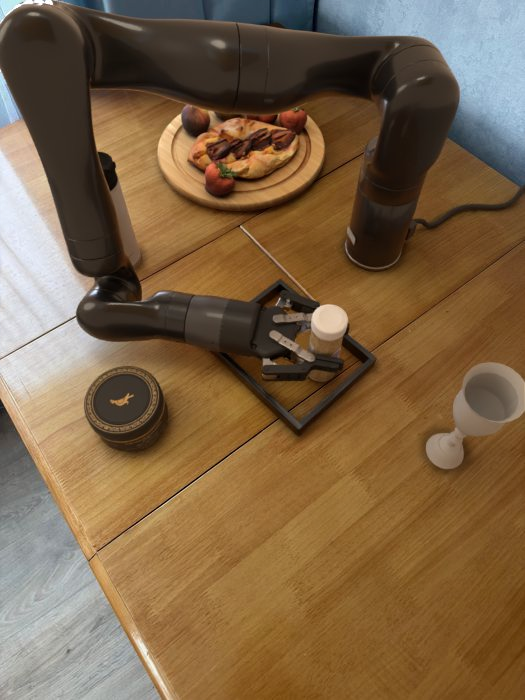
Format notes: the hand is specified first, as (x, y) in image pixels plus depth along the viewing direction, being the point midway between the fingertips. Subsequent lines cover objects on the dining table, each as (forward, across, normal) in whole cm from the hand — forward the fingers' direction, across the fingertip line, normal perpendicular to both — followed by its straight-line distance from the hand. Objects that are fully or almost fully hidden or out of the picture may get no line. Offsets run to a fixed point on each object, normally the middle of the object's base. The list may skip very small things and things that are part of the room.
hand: (345, 346), depth 71 cm
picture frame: (-8, +1, +7) cm, 11 cm away
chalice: (+16, -9, +8) cm, 19 cm away
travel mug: (-38, +14, +8) cm, 41 cm away
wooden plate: (-25, +44, +8) cm, 51 cm away
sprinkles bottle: (-3, 0, +8) cm, 8 cm away
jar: (-27, -14, +8) cm, 31 cm away
